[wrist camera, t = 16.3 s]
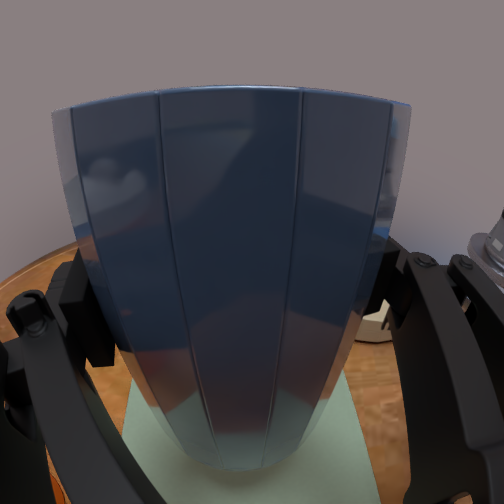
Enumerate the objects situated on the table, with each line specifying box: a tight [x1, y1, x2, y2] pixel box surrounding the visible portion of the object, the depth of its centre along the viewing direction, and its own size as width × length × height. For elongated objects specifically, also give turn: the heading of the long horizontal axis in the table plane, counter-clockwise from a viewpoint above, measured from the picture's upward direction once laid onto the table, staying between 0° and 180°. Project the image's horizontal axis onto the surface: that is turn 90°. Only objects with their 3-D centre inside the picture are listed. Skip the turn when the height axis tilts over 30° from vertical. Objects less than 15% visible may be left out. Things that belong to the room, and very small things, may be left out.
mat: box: [122, 370, 381, 504], centre depth 19 cm, size 20×20×1 cm
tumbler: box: [52, 85, 411, 471], centre depth 10 cm, size 8×8×14 cm
